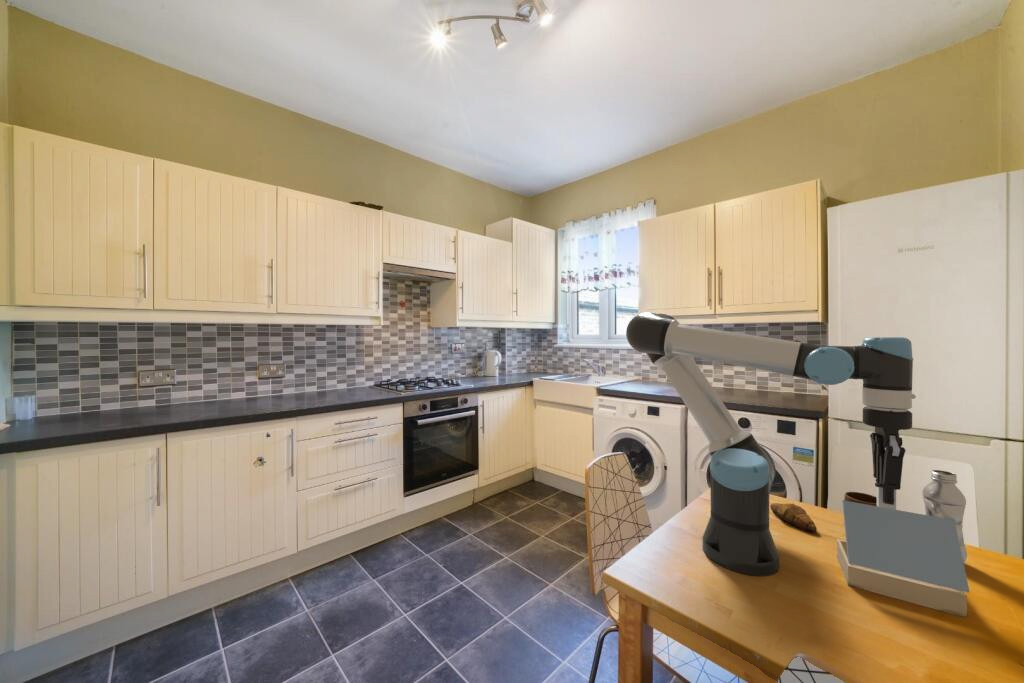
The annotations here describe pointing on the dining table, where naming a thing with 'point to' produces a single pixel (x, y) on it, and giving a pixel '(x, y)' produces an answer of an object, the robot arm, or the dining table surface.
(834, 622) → the dining table surface
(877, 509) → the lid
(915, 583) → the base
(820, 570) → the dining table surface
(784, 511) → the croissant
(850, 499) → the mug
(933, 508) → the plastic bottle
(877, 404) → the robot arm
